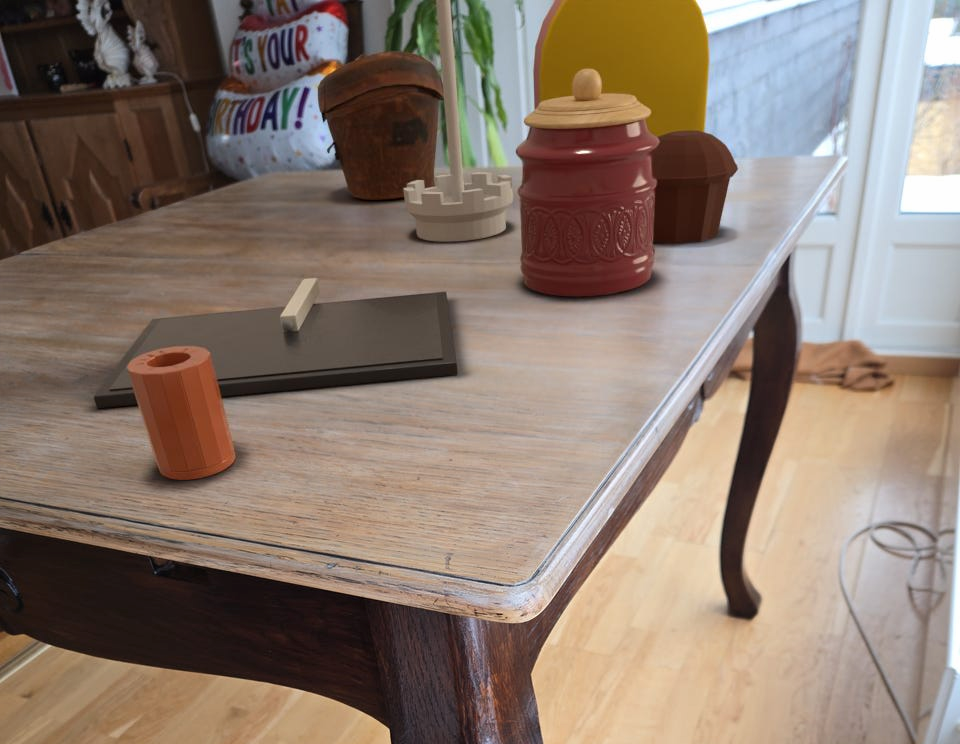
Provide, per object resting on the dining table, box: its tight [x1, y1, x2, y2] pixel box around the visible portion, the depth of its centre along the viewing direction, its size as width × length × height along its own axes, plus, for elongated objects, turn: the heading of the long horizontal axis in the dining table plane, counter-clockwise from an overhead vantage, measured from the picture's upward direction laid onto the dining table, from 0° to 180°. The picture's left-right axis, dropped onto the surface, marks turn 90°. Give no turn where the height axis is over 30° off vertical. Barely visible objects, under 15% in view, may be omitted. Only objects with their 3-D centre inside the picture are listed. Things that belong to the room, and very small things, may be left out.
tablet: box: [93, 291, 458, 410], centre depth 77 cm, size 28×20×1 cm
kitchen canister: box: [515, 69, 659, 297], centre depth 83 cm, size 13×13×18 cm
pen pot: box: [127, 346, 236, 481], centre depth 57 cm, size 5×5×7 cm
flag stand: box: [403, 0, 514, 243], centre depth 101 cm, size 13×13×30 cm
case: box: [317, 50, 444, 201], centre depth 128 cm, size 18×20×18 cm
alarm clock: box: [532, 0, 710, 137], centre depth 113 cm, size 21×9×26 cm, turn 93°
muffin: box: [653, 130, 739, 245], centre depth 97 cm, size 12×11×10 cm
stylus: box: [280, 277, 321, 332], centre depth 81 cm, size 1×1×13 cm
